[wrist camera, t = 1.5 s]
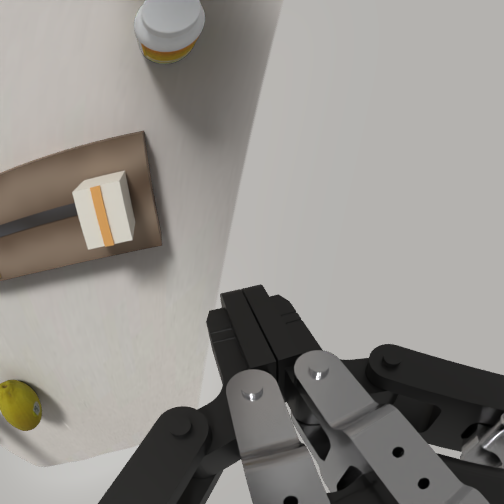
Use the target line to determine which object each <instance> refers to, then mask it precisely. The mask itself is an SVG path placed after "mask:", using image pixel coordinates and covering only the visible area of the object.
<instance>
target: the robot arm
mask: <svg viewBox="0 0 504 504" xmlns="http://www.w3.org/2000/svg"><path fill="white" fill-rule="evenodd" d="M220 297H221V304H222V308H220V309H215V310H211V311H209V314H208V318H207V321H206V323H207V327H208V332H209V336H210V341H211V345H212V350H213V354H214V357H215V360H216V364H217V367H218V371H219V374H220V377H221V380H222V384H223V387H222V390H221V392H220V394H219V395H218V396H217V398H216V399H214V400H213V401H212V402H211V403H209V404H207V405H205V406H203V407H202V408H200V409H198V410H196V409H194V408H191V407H175V408H172V409H169V410H167V411H166V412H164V413H163V414H162V415H161V416H160V417H159V418H158V420H157V421H156V423H155V424H154V426H153V427H152V428H151V430H150V431H149V433H148V434H147V436H146V437H145V438H144V440H143V441H142V443H141V444H140V445H139V447H138V448H137V450H136V451H135V453H134V454H133V455H132V457H131V458H130V460H129V461H128V462H127V464H126V465H125V467H124V468H123V469H122V471H121V472H120V474H119V475H118V476H117V478H116V479H115V481H114V482H113V483H112V485H111V486H110V488H109V489H108V490H107V492H106V493H105V495H104V496H103V497H102V499H101V500H100V502H99V503H98V504H205V503H206V501H207V499H208V498H209V496H210V494H211V492H212V490H213V489H214V487H215V485H216V483H217V481H218V479H219V477H220V476H221V474H222V472H223V469H225V468H227V467H229V466H230V465H232V464H234V463H235V462H237V461H238V460H240V459H241V460H242V464H243V468H244V472H245V476H246V480H247V484H248V487H249V491H250V494H251V498H252V502H253V504H504V375H500V374H496V373H492V372H489V371H485V370H481V369H477V368H473V367H469V366H466V365H462V364H459V363H455V362H451V361H447V360H444V359H441V358H437V357H434V356H430V355H427V354H424V353H420V352H416V351H413V350H410V349H407V348H403V347H400V346H397V345H392V344H385V345H381V346H378V347H376V348H375V349H374V350H373V351H372V352H371V354H370V357H369V358H364V359H355V360H341V359H339V358H338V357H337V356H335V355H334V354H332V353H330V352H327V351H323V350H322V349H321V347H320V346H319V344H318V343H317V341H316V340H315V338H314V337H313V336H312V334H311V333H310V331H309V330H308V328H307V327H306V325H305V324H304V322H303V321H302V320H301V318H300V317H299V315H298V313H296V310H295V309H294V307H293V306H292V304H291V303H290V302H289V301H288V300H286V299H285V298H283V297H282V296H280V295H275V296H271V297H269V295H268V294H267V292H266V290H265V289H264V287H263V286H262V285H257V286H252V287H248V288H243V289H241V290H235V291H230V292H226V293H221V294H220ZM285 402H287V403H288V405H289V407H290V409H291V418H290V415H289V413H288V410H287V407H286V405H285ZM291 420H292V421H291ZM292 422H293V423H292ZM293 424H294V425H295V427H296V429H297V431H298V432H299V434H300V436H301V437H302V439H303V440H304V442H305V444H306V445H307V447H308V449H309V450H310V452H311V453H312V455H313V457H314V458H315V460H316V461H317V463H318V465H319V468H320V472H321V476H322V478H323V481H324V482H325V484H326V486H327V487H328V488H329V490H330V492H331V493H326V492H325V489H324V487H323V484H322V482H321V479H320V477H319V475H318V472H317V470H316V467H315V465H314V462H313V460H312V457H311V455H310V453H309V451H308V449H307V447H306V446H305V445H304V444H303V443H301V442H300V441H299V439H298V436H297V434H296V431H295V429H294V426H293ZM428 444H431V445H435V446H439V447H443V448H448V449H452V450H457V451H460V452H462V454H461V456H460V459H456V458H452V457H449V456H445V455H441V454H437V453H435V452H434V451H433V449H432V448H431V447H430V446H429V445H428Z"/></svg>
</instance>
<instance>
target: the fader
mask: <svg viewBox="0 0 504 504" xmlns="http://www.w3.org/2000/svg"><path fill="white" fill-rule="evenodd" d="M72 194H73V198H74V202H75V206H76V210H77V213H78V217H79V221H80V224H81V228H82V231H83V235H84V238H85V241H86V244H87V248H88V250H89V249H94V248H98V247H103V246H105V247H107V246H112V245H114V244H116V243H121V242H126V241H131V240H133V234H134V228H135V218H134V213H133V209H132V204H131V199H130V194H129V189H128V184H127V179H126V173H125V171H120V172H116V173H112V174H107V175H103V176H99V177H95V178H91V179H87V180H84V181H83V182H82V183H81V184H80V185H79V186H78V187H77V188H76V189H75V190H74V191H73V192H72Z"/></svg>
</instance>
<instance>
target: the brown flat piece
mask: <svg viewBox="0 0 504 504" xmlns="http://www.w3.org/2000/svg"><path fill="white" fill-rule="evenodd" d="M120 171H125V173H126V179H127V184H128V189H129V194H130V199H131V204H132V209H133V213H134V218H135V228H134V234H133V240H131V241H126V242H121V243H116V244H114V245H112V246H107V247H105V246H103V247H98V248H94V249H89V250H88V248H87V244H86V241H85V238H84V235H83V231H82V228H81V224H80V221H79V217H78V213H77V210H76V206H75V202H74V198H73V194H72V192H73V191H74V190H75V189H76V188H77V187H78V186H79V185H80V184H81V183H82V182H83V181H84V180H87V179H91V178H95V177H99V176H103V175H107V174H112V173H116V172H120ZM161 245H162V238H161V230H160V225H159V220H158V214H157V209H156V204H155V198H154V193H153V187H152V181H151V175H150V169H149V163H148V156H147V149H146V142H145V135H144V131H140V132H135V133H130V134H126V135H121V136H117V137H112V138H108V139H104V140H100V141H96V142H92V143H89V144H85V145H81V146H78V147H74V148H71V149H67V150H64V151H61V152H57V153H54V154H51V155H48V156H45V157H42V158H39V159H36V160H33V161H30V162H28V163H25V164H22V165H20V166H17V167H14V168H12V169H9V170H7V171H4V172H2V173H0V281H3V280H7V279H11V278H15V277H20V276H24V275H28V274H32V273H37V272H41V271H45V270H50V269H54V268H58V267H63V266H67V265H72V264H76V263H81V262H85V261H90V260H94V259H99V258H104V257H108V256H113V255H118V254H122V253H127V252H132V251H137V250H142V249H146V248H151V247H156V246H161Z"/></svg>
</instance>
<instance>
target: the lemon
mask: <svg viewBox="0 0 504 504" xmlns="http://www.w3.org/2000/svg"><path fill="white" fill-rule="evenodd" d="M0 410H1V412H2V414H3V416H4V417H5V419H6V420H7V421H8V422H9V423H10V424H11V425H12V426H14V427H16V428H18V429H20V430H23V431H28V430H32V429H34V428H35V427H36V426H37V425H38V424H39V422H40V420H41V416H42V409H41V403H40V400H39V398H38V396H37V395H36V393H35V392H34V391H33V390H32V388H30V387H29V386H28V385H26V384H25V383H23V382H20V381H17V380H7V381H5V382H3V383H1V384H0Z"/></svg>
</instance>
